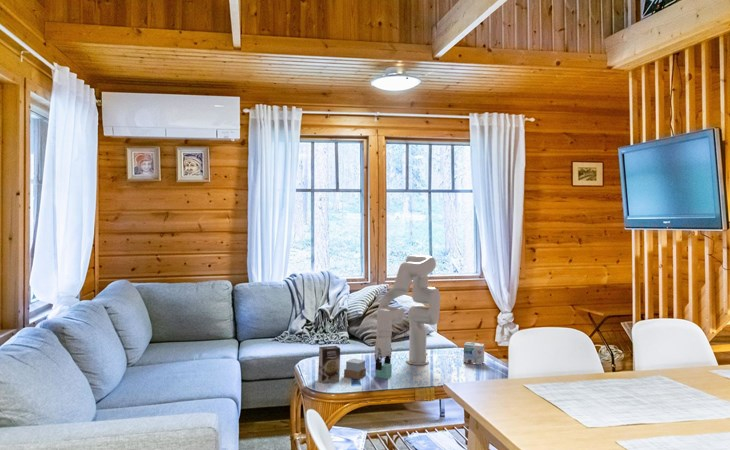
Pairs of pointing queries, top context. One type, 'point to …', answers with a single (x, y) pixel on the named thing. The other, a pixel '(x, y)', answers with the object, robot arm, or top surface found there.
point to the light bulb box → (473, 353)
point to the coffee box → (329, 364)
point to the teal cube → (384, 371)
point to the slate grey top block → (355, 365)
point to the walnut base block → (354, 374)
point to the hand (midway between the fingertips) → (382, 367)
